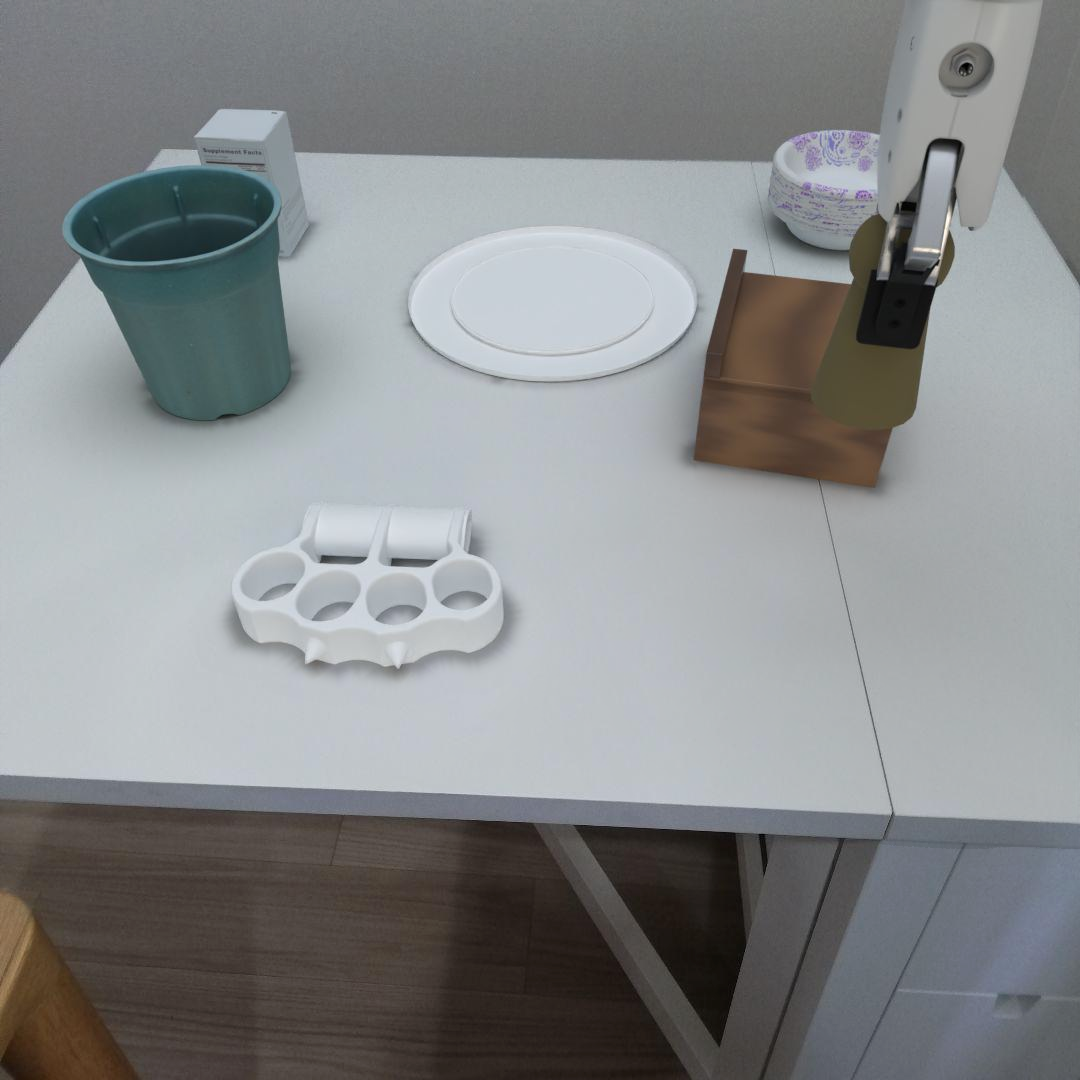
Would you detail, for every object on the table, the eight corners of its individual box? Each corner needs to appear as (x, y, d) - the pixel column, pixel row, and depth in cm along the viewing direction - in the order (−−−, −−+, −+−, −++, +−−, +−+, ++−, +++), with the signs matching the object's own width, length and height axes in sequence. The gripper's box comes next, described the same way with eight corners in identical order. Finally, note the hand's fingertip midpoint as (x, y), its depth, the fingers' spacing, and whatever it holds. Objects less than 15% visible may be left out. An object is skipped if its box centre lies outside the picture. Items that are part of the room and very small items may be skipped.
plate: (757, 308, 94) (758, 301, 93) (528, 423, 81) (528, 416, 81) (569, 207, 110) (569, 201, 109) (354, 291, 97) (353, 285, 97)
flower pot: (343, 401, 84) (310, 226, 73) (152, 463, 79) (84, 283, 68) (282, 314, 95) (245, 149, 83) (109, 363, 89) (44, 193, 78)
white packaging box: (247, 223, 108) (219, 106, 100) (311, 226, 108) (288, 109, 99) (222, 255, 103) (190, 135, 94) (290, 259, 102) (264, 138, 94)
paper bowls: (799, 274, 98) (812, 199, 93) (741, 208, 109) (751, 137, 103) (936, 254, 101) (957, 180, 95) (867, 191, 111) (883, 121, 106)
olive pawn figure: (803, 418, 56) (841, 241, 48) (817, 361, 60) (854, 189, 52) (912, 438, 55) (970, 259, 47) (919, 378, 59) (973, 204, 51)
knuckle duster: (515, 531, 72) (494, 690, 62) (278, 521, 74) (218, 676, 63) (514, 497, 70) (492, 657, 60) (268, 488, 71) (204, 643, 61)
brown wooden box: (878, 372, 86) (907, 267, 79) (874, 489, 75) (907, 379, 68) (719, 351, 89) (733, 248, 82) (693, 461, 78) (706, 352, 71)
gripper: (1117, -1, 34) (967, 415, 47) (1054, -110, 46) (948, 246, 59) (895, -12, 36) (808, 395, 48) (890, -115, 47) (821, 234, 60)
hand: (886, 310), depth 53 cm, fingers closed on olive pawn figure, 5 cm apart
